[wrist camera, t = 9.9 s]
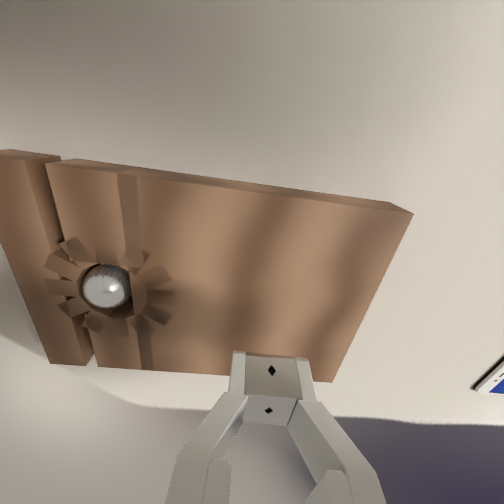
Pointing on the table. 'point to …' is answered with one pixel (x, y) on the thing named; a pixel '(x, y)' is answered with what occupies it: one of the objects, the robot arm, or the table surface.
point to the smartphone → (492, 381)
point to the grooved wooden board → (190, 264)
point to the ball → (107, 286)
